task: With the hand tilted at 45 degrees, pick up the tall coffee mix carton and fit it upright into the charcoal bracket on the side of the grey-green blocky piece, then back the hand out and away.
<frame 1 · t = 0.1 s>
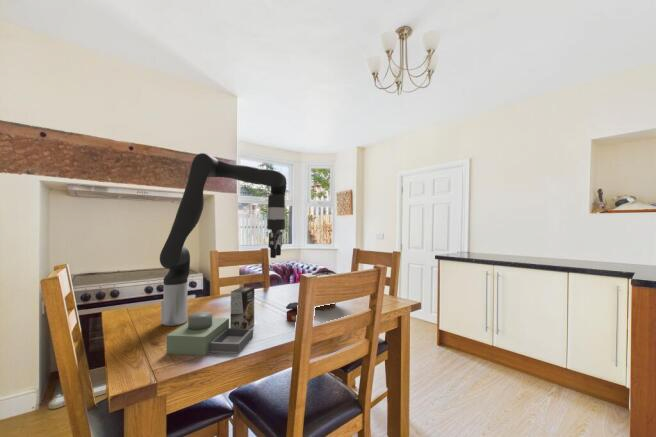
hand: (275, 256, 121), 29 cm above the table, tool pointing down, fingers open, 8 cm apart
case: (323, 307, 147), on the table
coffee box: (242, 328, 117), on the table
canned food: (297, 318, 130), on the table
grey-green blocky piece: (232, 343, 102), on the table
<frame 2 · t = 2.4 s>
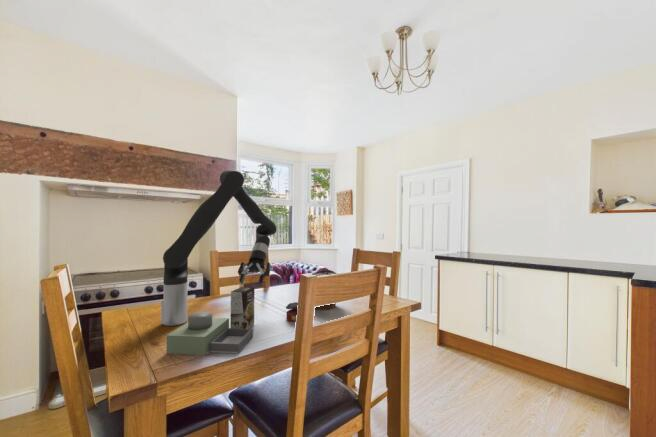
hand: (250, 282, 127), 17 cm above the table, tool tilted 45°, fingers open, 8 cm apart
nothing on the table moved.
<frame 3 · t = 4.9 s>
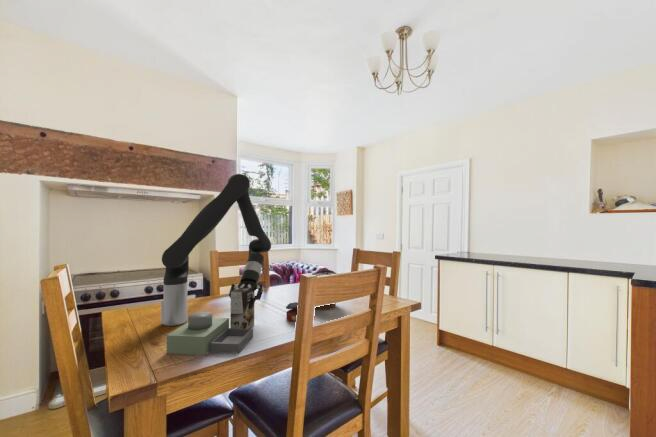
hand: (241, 307, 116), 9 cm above the table, tool tilted 45°, fingers closed on coffee box, 7 cm apart
coffee box: (242, 328, 117), on the table, touching gripper
everything else where it was.
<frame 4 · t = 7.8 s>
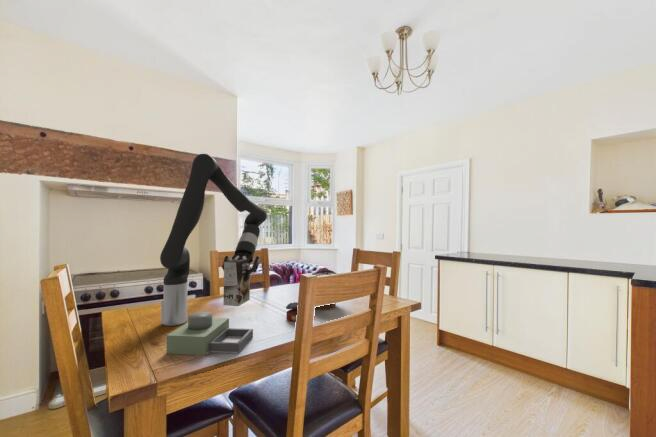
hand: (235, 280, 106), 22 cm above the table, tool tilted 45°, fingers closed on coffee box, 7 cm apart
coffee box: (237, 303, 108), point 13 cm above the table, touching gripper
everything else where it was.
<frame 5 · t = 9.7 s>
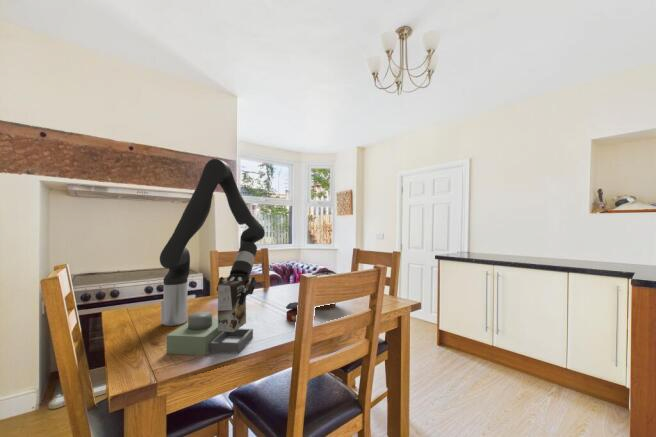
hand: (230, 303, 101), 15 cm above the table, tool tilted 45°, fingers closed on coffee box, 7 cm apart
coffee box: (232, 327, 102), point 6 cm above the table, touching gripper
everything else where it was.
when the fingers open (10 cm above the table, at t = 11.2 s): coffee box stays where it is, resting on grey-green blocky piece.
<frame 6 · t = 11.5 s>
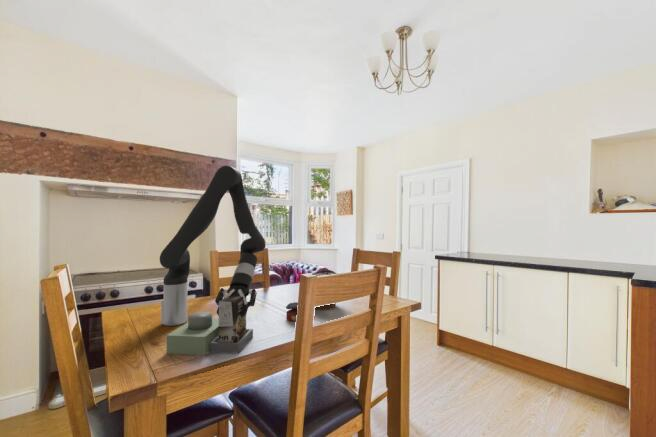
hand: (230, 315, 101), 11 cm above the table, tool tilted 45°, fingers open, 8 cm apart
coffee box: (232, 343, 103), resting on grey-green blocky piece
everything else where it was.
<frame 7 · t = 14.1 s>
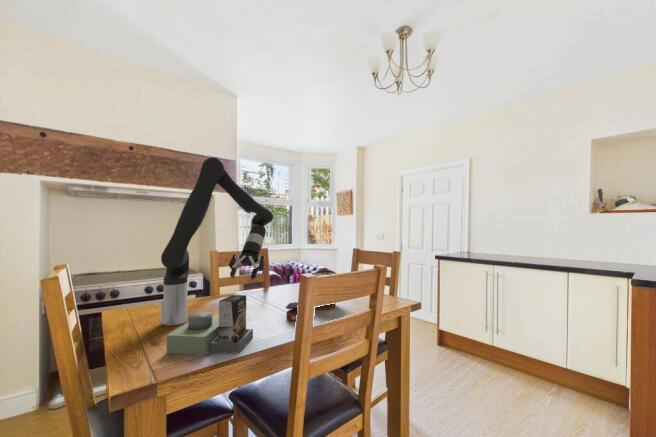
hand: (242, 277, 116), 21 cm above the table, tool tilted 40°, fingers open, 8 cm apart
nothing on the table moved.
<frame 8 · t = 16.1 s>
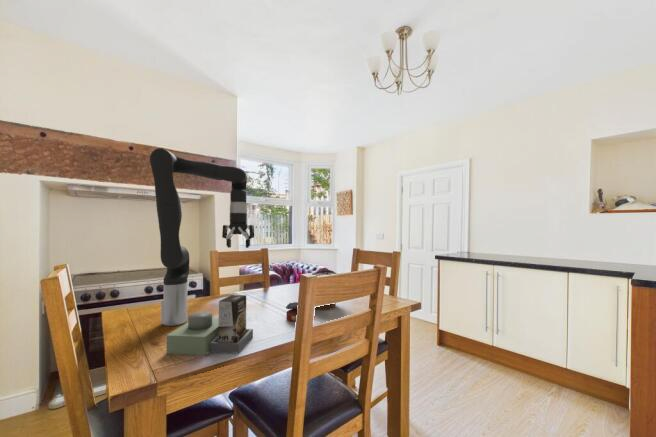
hand: (238, 247, 130), 32 cm above the table, tool pointing down, fingers open, 8 cm apart
nothing on the table moved.
at the end: coffee box 0.3 cm off-centre on the grey-green blocky piece, point 0.2 cm above the grey-green blocky piece's base; coffee box tilted 0°; the gripper is holding nothing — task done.
